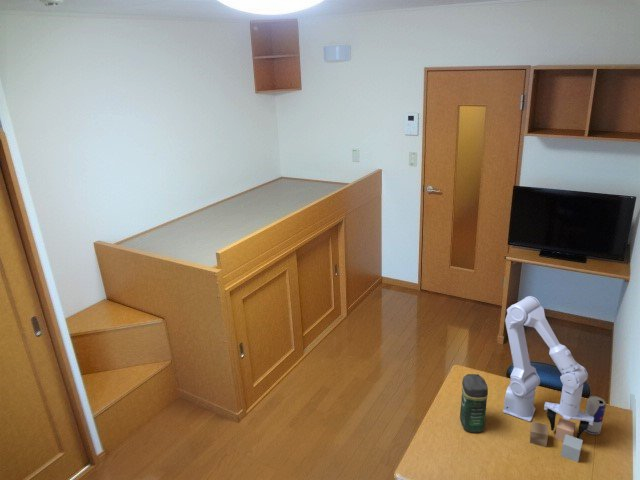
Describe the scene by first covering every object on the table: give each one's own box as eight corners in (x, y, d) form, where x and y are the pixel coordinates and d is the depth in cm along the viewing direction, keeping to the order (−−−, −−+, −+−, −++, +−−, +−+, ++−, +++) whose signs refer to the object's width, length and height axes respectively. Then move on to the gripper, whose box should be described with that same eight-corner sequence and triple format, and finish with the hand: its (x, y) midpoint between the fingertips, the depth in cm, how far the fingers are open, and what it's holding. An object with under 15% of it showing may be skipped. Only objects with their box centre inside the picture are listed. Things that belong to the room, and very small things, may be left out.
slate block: (560, 456, 155) (562, 443, 153) (563, 446, 159) (565, 434, 157) (577, 462, 152) (580, 450, 151) (580, 452, 156) (582, 440, 154)
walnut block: (529, 443, 161) (531, 431, 159) (530, 432, 165) (531, 421, 163) (546, 447, 159) (547, 435, 157) (546, 436, 163) (548, 425, 161)
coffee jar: (487, 433, 166) (491, 389, 159) (463, 433, 166) (466, 389, 159) (480, 414, 175) (483, 371, 168) (457, 414, 175) (460, 371, 168)
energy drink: (602, 436, 162) (608, 407, 158) (585, 434, 163) (590, 405, 159) (597, 424, 167) (603, 396, 162) (580, 423, 168) (585, 394, 164)
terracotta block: (554, 438, 162) (556, 426, 160) (557, 429, 166) (559, 417, 164) (571, 444, 159) (573, 432, 158) (573, 434, 163) (575, 423, 161)
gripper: (543, 399, 158) (539, 432, 163) (594, 415, 150) (587, 449, 155) (548, 387, 163) (543, 419, 168) (597, 402, 155) (590, 435, 160)
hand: (565, 432), depth 162 cm, fingers open, 7 cm apart
